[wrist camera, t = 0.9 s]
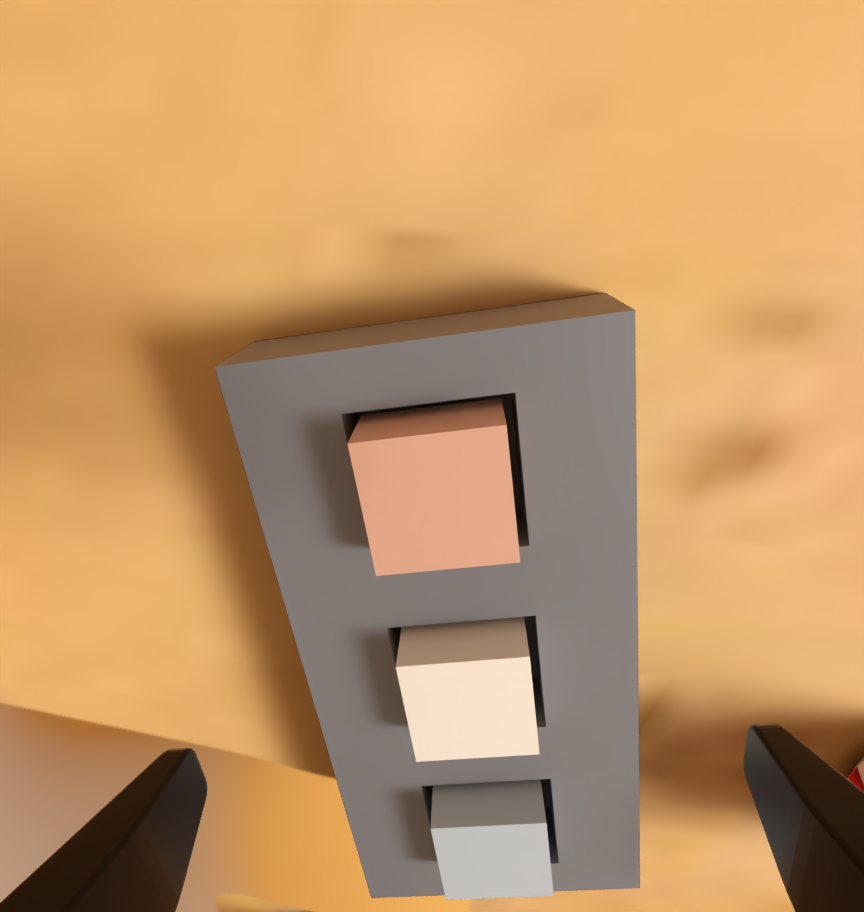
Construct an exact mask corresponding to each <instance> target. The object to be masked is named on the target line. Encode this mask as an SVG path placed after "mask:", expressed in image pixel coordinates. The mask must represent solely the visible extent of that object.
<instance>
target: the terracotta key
mask: <svg viewBox="0 0 864 912" xmlns="http://www.w3.org/2000/svg"><path fill="white" fill-rule="evenodd" d="M347 444H348V449H349V453H350V458H351V462H352V467H353V472H354V476H355V481H356V486H357V490H358V495H359V499H360V504H361V509H362V513H363V518H364V523H365V527H366V532H367V537H368V541H369V546H370V550H371V555H372V560H373V564H374V569H375V574H376V576H382V575H393V574H403V573H414V572H425V571H435V570H446V569H457V568H467V567H478V566H489V565H499V564H510V563H520V553H519V543H518V534H517V524H516V514H515V504H514V494H513V484H512V474H511V464H510V454H509V444H508V434H507V424H506V419H505V415H504V410H503V405H502V400H501V398H498V399H489V400H481V401H473V402H465V403H457V404H449V405H440V406H432V407H424V408H416V409H408V410H400V411H392V412H383V413H375V414H367V415H361V417H360V419H359V421H358V423H357V425H356V427H355V429H354V431H353V433H352V435H351V437H350V439H349V441H348V443H347Z"/></svg>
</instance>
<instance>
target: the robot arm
mask: <svg viewBox="0 0 864 912" xmlns="http://www.w3.org/2000/svg"><path fill="white" fill-rule="evenodd" d="M744 772H745V776H746V779H747V782H748V785H749V788H750V791H751V794H752V797H753V799H754V802H755V805H756V808H757V811H758V813H759V816H760V819H761V822H762V825H763V828H764V830H765V833H766V836H767V839H768V842H769V844H770V847H771V850H772V853H773V856H774V858H775V861H776V864H777V867H778V870H779V873H780V875H781V878H782V881H783V883H784V886H785V889H786V891H787V894H788V896H789V898H790V900H791V903H792V905H793V907H794V910H795V912H864V792H863V791H862V790H861V789H859V788H858V787H857V786H856V785H854V784H853V783H852V782H851V781H849V780H848V779H847V778H846V777H845V776H843V775H842V774H841V773H840V772H838V771H837V770H836V769H835V768H833V767H832V766H831V765H830V764H829V763H827V762H826V761H825V760H824V759H822V758H821V757H820V756H819V755H817V754H816V753H815V752H814V751H813V750H811V749H810V748H809V747H808V746H806V745H805V744H804V743H803V742H801V741H800V740H799V739H798V738H797V737H795V736H794V735H793V734H792V733H790V732H789V731H788V730H787V729H785V728H784V727H783V726H781V725H779V724H773V723H772V724H753V725H751V726H750V727H749V729H748V732H747V740H746V747H745V755H744ZM206 796H207V782H206V779H205V776H204V773H203V771H202V769H201V766H200V763H199V761H198V758H197V756H196V753H195V751H193V750H192V749H190V748H179V749H178V748H177V749H169V750H167V751H165V752H163V753H162V754H161V755H160V756H159V757H158V758H157V759H156V760H155V761H153V762H152V763H151V764H150V765H149V766H148V767H147V768H146V769H145V770H144V771H143V772H142V773H140V774H139V775H138V776H137V777H136V778H135V779H134V780H133V781H132V782H131V783H130V784H129V785H127V786H126V787H125V788H124V789H123V790H122V791H121V792H120V793H119V794H118V795H117V796H116V797H114V799H112V801H110V802H109V803H108V804H107V805H106V806H105V807H104V808H103V809H101V810H100V812H98V813H97V814H96V815H95V816H94V817H93V818H92V819H91V820H90V821H89V822H87V823H86V824H85V825H84V826H83V827H82V828H81V829H80V830H79V831H78V832H77V833H75V835H73V836H72V837H71V838H70V839H69V840H68V841H67V842H66V843H65V844H64V845H63V846H62V847H60V848H59V849H58V850H57V851H56V852H55V853H54V854H53V855H52V856H51V857H50V858H49V859H47V861H45V862H44V863H43V864H42V865H41V866H40V867H39V868H38V869H36V870H35V871H34V872H33V873H32V874H31V875H30V876H29V877H28V878H27V879H26V880H25V881H24V882H22V883H21V884H20V885H19V886H18V887H17V888H16V889H15V890H14V891H13V892H12V893H10V894H9V895H8V896H7V897H6V898H5V899H4V900H3V901H2V902H1V903H0V912H175V911H176V908H177V905H178V902H179V899H180V895H181V891H182V888H183V885H184V881H185V877H186V873H187V869H188V865H189V862H190V858H191V854H192V850H193V846H194V842H195V839H196V834H197V831H198V827H199V823H200V819H201V815H202V812H203V808H204V804H205V800H206Z"/></svg>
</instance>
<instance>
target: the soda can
mask: <svg viewBox="0 0 864 912" xmlns="http://www.w3.org/2000/svg"><path fill="white" fill-rule="evenodd" d="M847 779H848V780H849V781H851V782H852V783H853V784H854V785H856V786H857V787H858V788H859V789H861V790H862V791H863V792H864V757H862V759H861V760H860V761H859V762H858V763H857V764H856V766H855V768H854V769H853V771H852V772H851V773H850V775H849V776H848V778H847Z"/></svg>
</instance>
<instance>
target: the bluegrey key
mask: <svg viewBox="0 0 864 912" xmlns="http://www.w3.org/2000/svg"><path fill="white" fill-rule="evenodd" d="M431 833H432V837H433V842H434V847H435V851H436V856H437V861H438V865H439V870H440V875H441V879H442V884H443V888H444V893H445V898H446V900H455V899H483V898H511V897H539V896H554V893H553V883H552V873H551V863H550V853H549V843H548V833H547V823H546V816H545V808H544V801H543V794H542V786H541V779H538V780H520V781H502V782H484V783H467V784H449V785H433V792H432V811H431Z"/></svg>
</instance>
